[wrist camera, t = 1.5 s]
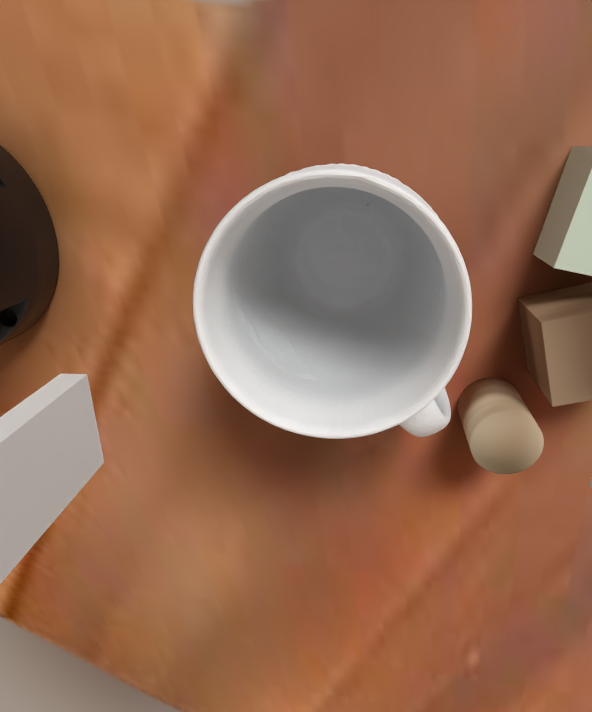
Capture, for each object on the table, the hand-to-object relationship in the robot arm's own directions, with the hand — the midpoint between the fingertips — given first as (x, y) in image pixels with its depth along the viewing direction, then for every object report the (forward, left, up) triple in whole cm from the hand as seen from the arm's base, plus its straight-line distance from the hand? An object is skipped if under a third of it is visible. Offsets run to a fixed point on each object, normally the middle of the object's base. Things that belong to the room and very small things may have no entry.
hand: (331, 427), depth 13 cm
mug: (0, 0, -21) cm, 21 cm away
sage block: (+13, +3, -21) cm, 25 cm away
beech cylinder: (+9, -9, -21) cm, 24 cm away
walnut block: (+13, -4, -21) cm, 25 cm away
